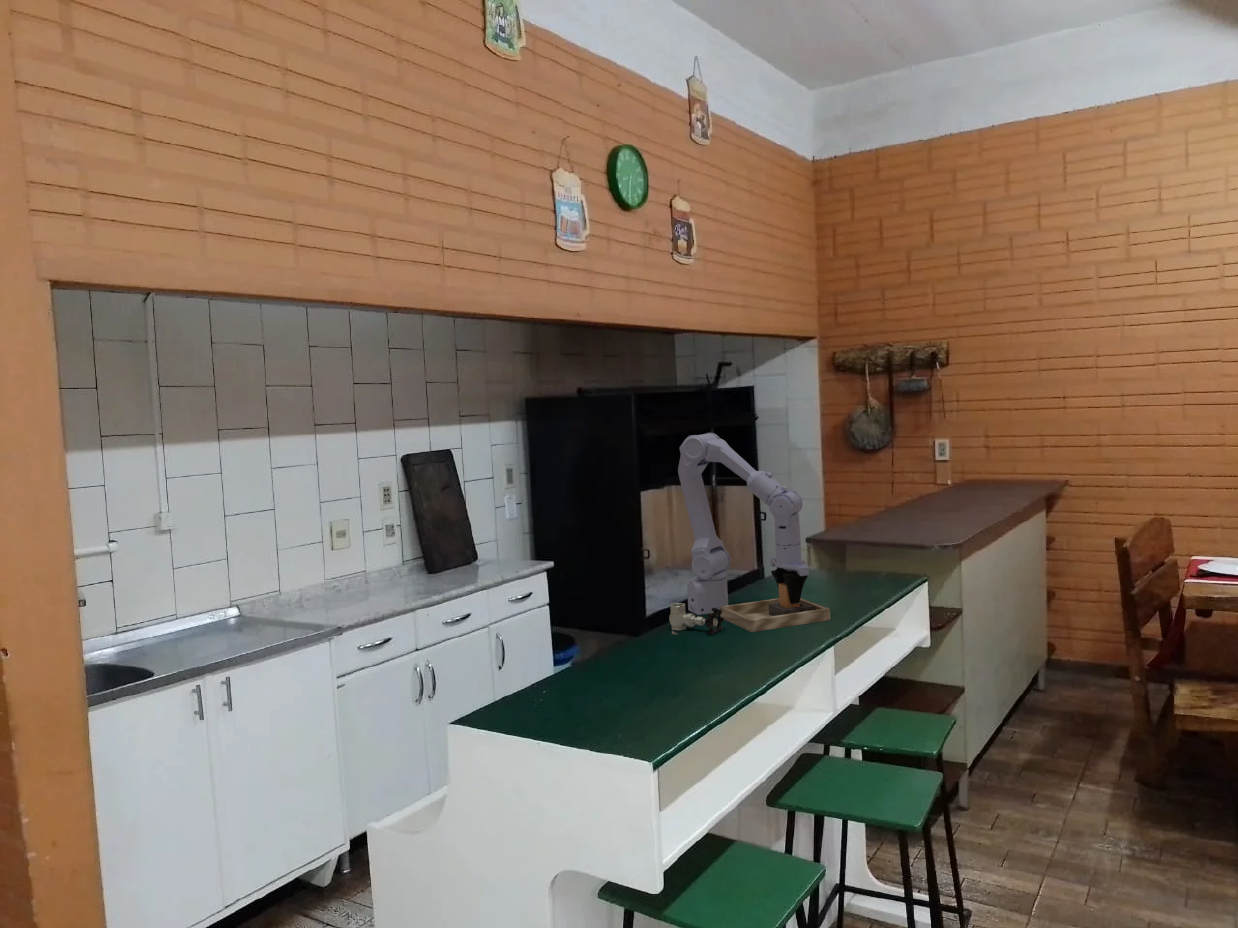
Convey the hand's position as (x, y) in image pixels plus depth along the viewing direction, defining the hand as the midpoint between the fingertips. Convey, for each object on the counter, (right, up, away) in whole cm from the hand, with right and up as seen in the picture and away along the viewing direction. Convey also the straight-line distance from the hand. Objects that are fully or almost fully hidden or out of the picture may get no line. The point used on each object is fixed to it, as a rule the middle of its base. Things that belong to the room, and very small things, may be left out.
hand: (790, 601), depth 216 cm
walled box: (-4, -5, -1) cm, 6 cm away
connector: (0, -2, 0) cm, 2 cm away
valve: (-23, -7, -7) cm, 25 cm away
